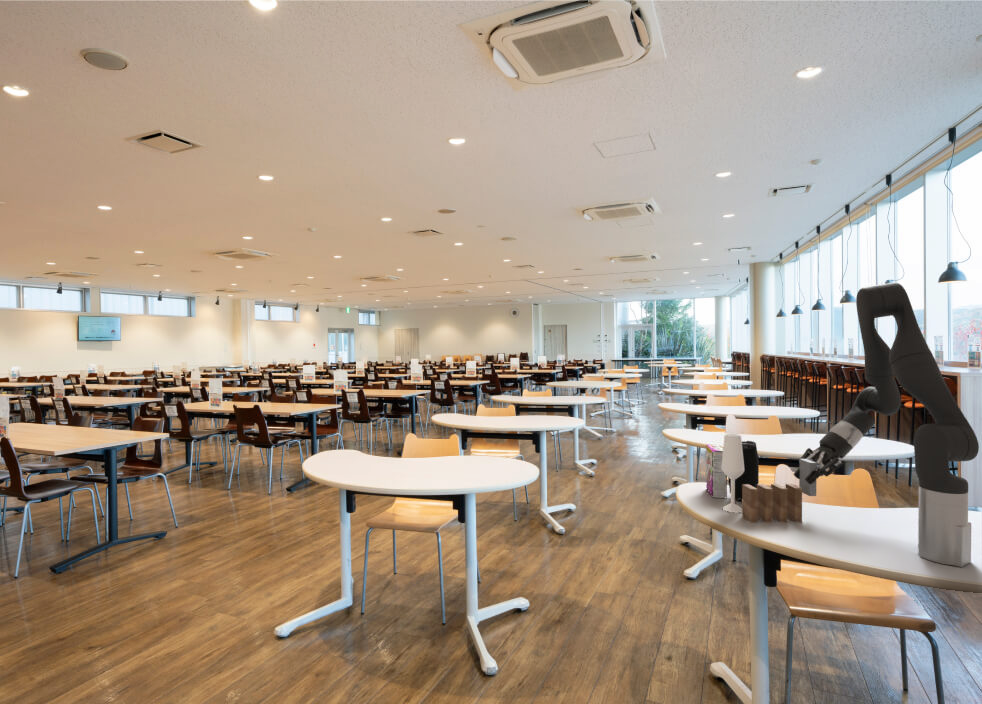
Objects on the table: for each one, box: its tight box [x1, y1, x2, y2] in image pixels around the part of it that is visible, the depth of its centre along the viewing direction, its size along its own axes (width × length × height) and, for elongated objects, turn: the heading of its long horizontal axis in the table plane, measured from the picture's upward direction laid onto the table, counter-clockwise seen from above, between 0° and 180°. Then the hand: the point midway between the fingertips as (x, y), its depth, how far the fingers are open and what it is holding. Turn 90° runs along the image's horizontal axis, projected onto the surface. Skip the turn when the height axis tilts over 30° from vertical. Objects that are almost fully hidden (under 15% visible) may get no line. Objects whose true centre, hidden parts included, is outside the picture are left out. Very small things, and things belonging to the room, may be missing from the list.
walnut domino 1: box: [741, 484, 758, 523], centre depth 157 cm, size 2×5×10 cm, turn 2°
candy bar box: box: [705, 444, 728, 499], centre depth 184 cm, size 11×5×16 cm, turn 168°
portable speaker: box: [727, 440, 760, 501], centre depth 177 cm, size 9×9×20 cm
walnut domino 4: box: [785, 483, 803, 523], centre depth 158 cm, size 2×5×10 cm, turn 2°
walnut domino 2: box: [757, 483, 773, 523], centre depth 158 cm, size 2×5×10 cm, turn 2°
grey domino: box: [798, 458, 817, 497], centre depth 158 cm, size 2×5×10 cm, turn 2°
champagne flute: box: [721, 433, 744, 514], centre depth 167 cm, size 7×7×24 cm
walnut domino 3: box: [770, 483, 788, 523], centre depth 158 cm, size 2×5×10 cm, turn 1°
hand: (801, 479), depth 158 cm, fingers closed on grey domino, 5 cm apart
